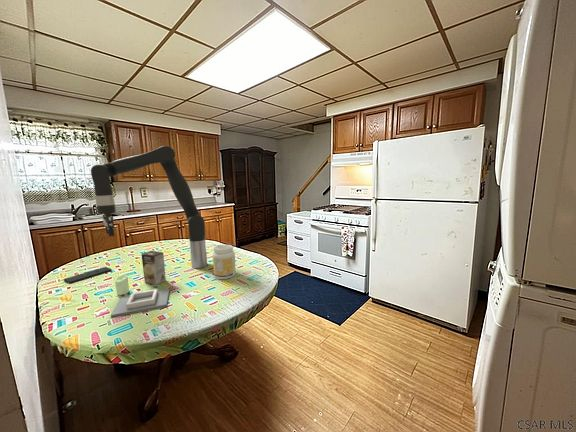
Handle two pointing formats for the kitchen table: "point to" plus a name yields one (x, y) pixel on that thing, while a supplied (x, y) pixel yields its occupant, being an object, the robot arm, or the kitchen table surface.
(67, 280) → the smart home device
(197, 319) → the kitchen table surface
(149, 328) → the kitchen table surface
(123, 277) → the candle
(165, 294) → the holder board
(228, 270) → the supplement tub
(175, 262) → the kitchen table surface
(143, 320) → the kitchen table surface
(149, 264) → the coffee box
